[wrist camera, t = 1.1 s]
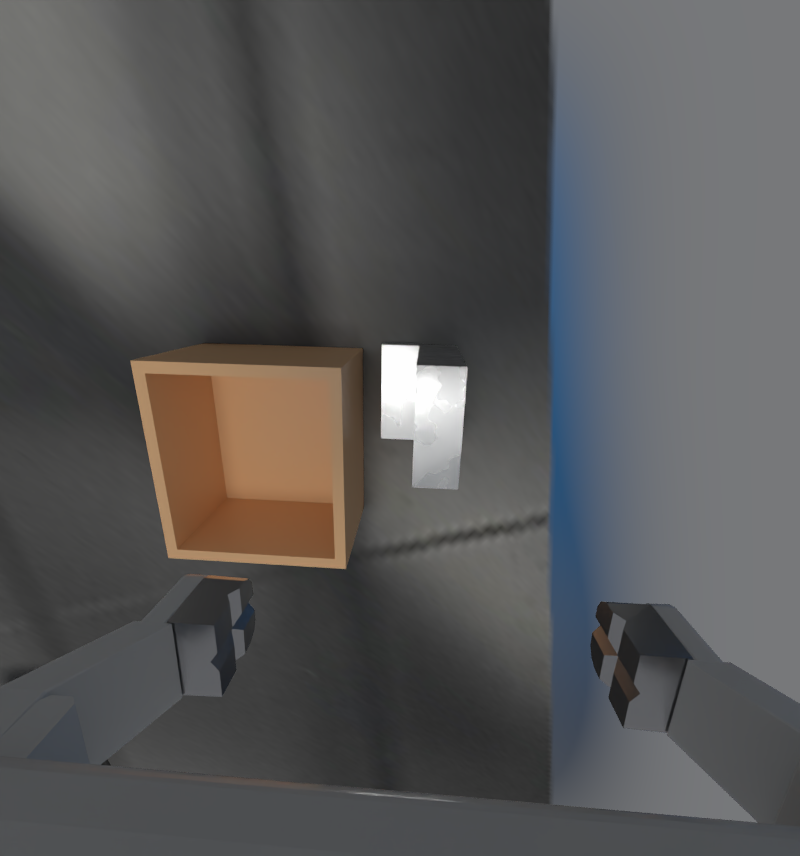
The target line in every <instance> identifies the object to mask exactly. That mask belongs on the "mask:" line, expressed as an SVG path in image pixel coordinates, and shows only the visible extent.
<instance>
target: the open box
mask: <svg viewBox="0 0 800 856" xmlns="http://www.w3.org/2000/svg"><path fill="white" fill-rule="evenodd" d="M130 362H131V367H132V372H133V377H134V382H135V387H136V392H137V398H138V403H139V408H140V413H141V418H142V423H143V429H144V434H145V439H146V444H147V449H148V454H149V460H150V465H151V470H152V475H153V480H154V485H155V490H156V496H157V501H158V506H159V511H160V516H161V521H162V527H163V532H164V537H165V542H166V547H167V552H168V557H169V558H178V559H194V560H210V561H227V562H243V563H259V564H275V565H291V566H308V567H324V568H340V569H346V567H347V563H348V560H349V557H350V553H351V550H352V546H353V543H354V539H355V536H356V533H357V529H358V526H359V522H360V519H361V515H362V512H363V509H364V447H363V348H339V347H308V346H278V345H247V344H216V343H202V344H198V345H194V346H190V347H185V348H181V349H177V350H173V351H168V352H164V353H160V354H156V355H152V356H147V357H143V358H139V359H135V360H130Z"/></svg>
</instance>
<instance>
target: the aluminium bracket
mask: <svg viewBox="0 0 800 856" xmlns="http://www.w3.org/2000/svg"><path fill="white" fill-rule="evenodd" d="M467 370H468V366H467V365H466V363H465V361H464V359H463V357H462V355H461V353H460V351H459V349H458V347H457V346H456V345H438V344H407V343H383V344H382V378H381V438H384V439H406V440H414V447H413V474H412V487H419V488H439V489H458V485H459V472H460V460H461V447H462V434H463V421H464V409H465V396H466V383H467Z"/></svg>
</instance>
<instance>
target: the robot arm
mask: <svg viewBox="0 0 800 856" xmlns="http://www.w3.org/2000/svg"><path fill="white" fill-rule="evenodd" d="M253 594H254V593H253V585H252V581H251V580H249V579H246V578H234V577H223V576H211V575H209V576H207V575H196V574H188V575H185V576H183V577H182V578H181V579H180V580H179V581H178V582H177V583H176V584H175V586H174V587H173V588H172V589H171V590H170V591H169V592H168V593H167V594H166V595H165V596H164V597H163V598H162V599H161V601H160V602H159V603H158V604H157V605H156V606H155V607H154V608H153V609H152V610H151V611H150V612H149V613H148V614H147V616H146V617H145V618H144V619H143V620H142V621H133V622H131V623H129V624H127V625H125V626H123V627H121V628H119V629H117V630H115V631H113V632H111V633H109V634H107V635H105V636H103V637H101V638H99V639H97V640H95V641H92V642H90V643H88V644H86V645H84V646H82V647H80V648H78V649H76V650H74V651H72V652H70V653H68V654H66V655H64V656H62V657H60V658H58V659H56V660H54V661H52V662H49V663H47V664H45V665H43V666H41V667H39V668H37V669H35V670H33V671H31V672H29V673H27V674H25V675H23V676H21V677H19V678H17V679H15V680H13V681H11V682H9V683H7V684H4V685H2V686H0V856H800V703H798V702H796V701H794V700H793V699H791V698H789V697H788V696H786V695H784V694H783V693H781V692H779V691H778V690H776V689H774V688H773V687H771V686H769V685H767V684H766V683H764V682H762V681H761V680H759V679H757V678H756V677H754V676H752V675H750V674H749V673H747V672H746V671H744V670H742V669H741V668H739V667H737V666H735V665H734V664H732V663H728V662H722V660H721V659H720V658H719V657H718V656H717V655H716V654H715V652H714V651H713V650H712V649H711V648H710V647H709V645H707V643H706V642H705V641H704V640H703V639H702V638H701V636H700V635H699V634H698V633H697V632H696V630H695V629H694V628H693V627H692V626H691V625H690V624H689V622H688V621H687V620H686V619H685V618H684V617H683V616H682V614H681V613H680V612H679V611H678V610H677V609H676V608H675V607H673V606H672V605H670V604H649V603H647V604H633V603H618V602H600V604H599V605H598V607H597V612H596V618H597V620H598V622H599V623H600V626H599V627H598V628H597V629H596V630H595V631H594V632H593V633H592V639H591V656H592V661H593V664H594V668H595V670H596V673H597V675H598V677H599V679H600V680H601V681H603V682H604V683H605V684H606V685H607V686H609V687H610V693H609V700H610V702H611V704H612V706H613V708H614V710H615V712H616V714H617V716H618V718H619V720H620V722H621V724H622V726H623V728H627V729H636V730H646V731H655V732H663V733H667V736H668V737H670V738H671V739H672V740H673V741H674V742H675V743H676V744H677V745H678V746H679V747H680V748H681V749H682V750H683V751H684V752H686V754H687V755H688V756H689V757H690V758H691V759H693V760H694V761H695V762H696V763H697V764H698V765H699V766H700V767H701V768H702V769H703V770H704V771H705V772H706V773H707V774H708V775H709V776H710V777H711V778H712V779H713V780H714V781H716V783H718V785H720V786H721V787H722V788H723V789H724V790H725V791H726V792H727V793H728V794H729V795H730V796H731V797H732V798H733V799H734V800H735V801H736V802H737V803H738V804H739V805H740V806H741V807H743V809H745V810H746V811H747V812H748V813H749V814H750V815H751V816H752V817H753V818H754V819H755V820H756V821H757V822H758V823H755V822H743V821H732V820H721V819H710V818H698V817H687V816H676V815H675V816H674V815H664V814H653V813H642V812H630V811H619V810H608V809H596V808H585V807H573V806H562V805H551V804H540V803H528V802H517V801H506V800H494V799H483V798H472V797H460V796H449V795H438V794H426V793H415V792H403V791H392V790H381V789H369V788H358V787H347V786H335V785H324V784H312V783H301V782H290V781H278V780H267V779H256V778H244V777H233V776H221V775H210V774H199V773H187V772H176V771H164V770H153V769H142V768H130V767H119V766H108V765H101V764H102V763H103V762H105V761H106V760H107V759H108V758H109V757H111V756H112V755H113V754H114V753H115V752H117V751H118V750H119V749H120V748H122V747H123V746H124V745H125V744H126V743H128V742H129V741H130V740H131V739H132V738H134V737H135V736H136V735H137V734H139V733H140V732H141V731H142V730H143V729H145V728H146V727H147V726H148V725H150V724H151V723H152V722H153V721H154V720H156V719H157V718H158V717H159V716H160V715H162V714H163V713H164V712H165V711H167V710H168V709H169V708H170V707H171V706H173V705H174V704H175V703H176V702H177V701H179V700H180V699H181V698H182V697H183V696H182V695H196V696H217V697H222V696H223V694H224V692H225V691H226V689H227V687H228V685H229V683H230V681H231V679H232V678H233V676H234V674H235V672H236V670H237V669H236V659H238V658H239V657H241V656H242V655H244V654H245V653H246V651H247V649H248V647H249V645H250V643H251V640H252V636H253V633H254V629H255V609H254V608H253V607H252V606H251V605H250V603H249V601H250V599H251V597H252V596H253Z"/></svg>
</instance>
